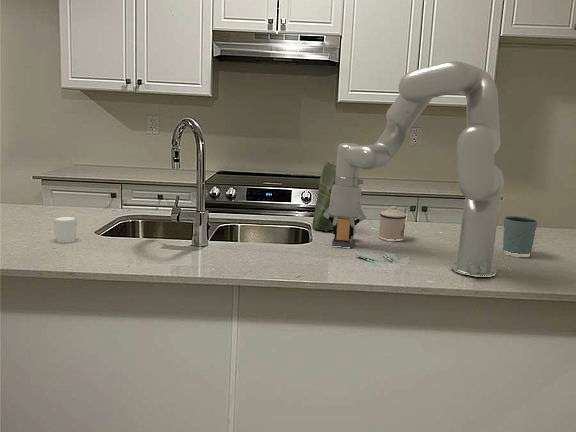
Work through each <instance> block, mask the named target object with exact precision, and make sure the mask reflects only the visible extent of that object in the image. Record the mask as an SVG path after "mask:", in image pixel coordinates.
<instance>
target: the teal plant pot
mask: <svg viewBox="0 0 576 432" xmlns="http://www.w3.org/2000/svg"><path fill="white" fill-rule="evenodd" d="M537 225H538V220H537V219H535V218H532V217H527V216H520V215H519V216H517V215H508V216H504V217H503V237H502V238H503V243H502V244H503V247H502V251H503V250H505V251H508V252H511V253H518V254H529V253H531V254H532V251H533V245H534V240H535V235H536V230H537Z"/></svg>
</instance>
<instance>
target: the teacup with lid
mask: <svg viewBox="0 0 576 432" xmlns="http://www.w3.org/2000/svg"><path fill="white" fill-rule="evenodd" d="M397 208H398V207H397V206H395V205H392V206H390V208H388V209H386V210H383V211H381V212H380V213H379V216H380V217H379V226H378V227H379V229H378V237H379V236H380V237H382V238H386V239H394V240H396V239H403V238H405V226H406V218H407V215H406V213H405V212H402V211H400V210H399V209H397ZM403 240H404V239H403Z"/></svg>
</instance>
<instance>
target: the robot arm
mask: <svg viewBox="0 0 576 432" xmlns="http://www.w3.org/2000/svg"><path fill="white" fill-rule="evenodd" d="M398 93H399V94H398V96H397V97H396V99H395V100H394V102H392V104H391V106H390V107H389V108H388V109H387V111H386V116H385V117H386V126H385V128H384V131H383V132H382V133H381V135H380V136H379V138H378V140H376V142H375V143H374V144H369V145H368V144H366V145H360V144H358V143H351V142H342V143H340V144H338V146H337V150H336V151H337V152H336V164H335V165H336V178H335V185H333V187H332V191H331V197H330V205H329V207H328V208H327V210H326V211H325V212H324V214H323V215H324V216H325V217H326V218H327V219H329V220H330V222H331V223H332V224H333V225H334V226H333V230H332V235H334V237H335V238H336V236H337V221H338V217H347V218H350V221H351V224H350V229H349V239H351V236H353V234H354V235H355V232H354V231H355V226H357V225H358V224H359V223H361V222H362V221H364V220H366V219H367V216H366V215H365V212H364V210H363V209H362V187H361V186H359V185H363V184H364V179H361V178H360V171H361V170H365V171H369V170H374V169H379V168H383V167H385V166H387V165H388V164H389V163H390V161H391V160H392V159H393V158H394V157H395V155H396V154H397V153H398V152H399V150H400V149H401V147H402V145H404V142H405V139H406V138H407V136H408V134H409V132H410V129H411V128H412V126H413V124H415V122H416V120H417V119H418V118H419V117H420V116H421V114H422V113H423V111H424V110H426V107H427V106H428V105H429V104H430V102H431V101H432V100H433V98H439V97H444V96H448V95H449V96H450V95H461V96H465V98H466V107H465V108H466V109H465V112H466V127H465V128H464V129H463V130H462V131H461V132H460V134H459V136H458V139H457V142H456V158H457V159H456V161H457V162H456V163H457V166H456V167H457V183H458V189H459V190H460V192H461V194H462V195H463V196H464V197H465V198H464V202H463V203H464V205H463V210H462V211H463V212H462V217H461V218H462V219H461V225H460V234H459V241H458V242H459V243H458V244H459V245H458V251H457V252H458V253H457V258H456V262H453V263H452V264H450V269H451V268H452V269H453V270H455V271H458V272H461V273H465V274H470V275H480V276H483V275H484V276H485V275H486V276H487V275H493V274H495V273H496V274H497V270H496V269H495V268H494V267H492V266H493V265H492V264H493V257H494V249H495V244H496V243H495V241H496V235H497V234H496V233H497V227H498V221H499V220H498V219H499V213H500V206H501V201H502V196H503V193H504V192H503V191H504V186H505V178H504V174H503V171H502V170H501V169H500V168H499V167H498V166H497V165H495V154H496V153H497V152H498V150H499V149H500V146H501V132H500V131H501V130H500V129H501V128H500V112H499V94H498V89H497V85H496V82H495V80H494V78H493V77H492V76H491V75H490V74H489V73H488V72H487V71H486V70H484V69H482V68H480V67H478V66H476V65H473V64H470V63H466V62H462V61H457V60H456V61H455V60H454V61H448V62H444V63H439V64H435V65H432V66H427V67H423V68H419V69H415V70H410V71H409V72H407V73H405V74H404V75H403V76H402V77H401V79H400V80H399V84H398ZM329 214H330V215H329ZM332 216H334V218H333V217H332Z"/></svg>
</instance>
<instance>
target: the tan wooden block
mask: <svg viewBox="0 0 576 432" xmlns="http://www.w3.org/2000/svg"><path fill="white" fill-rule="evenodd" d="M350 224H351V221H350V218H347V217H338V222H337V236H336V240H345V241H349V229H350Z"/></svg>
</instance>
